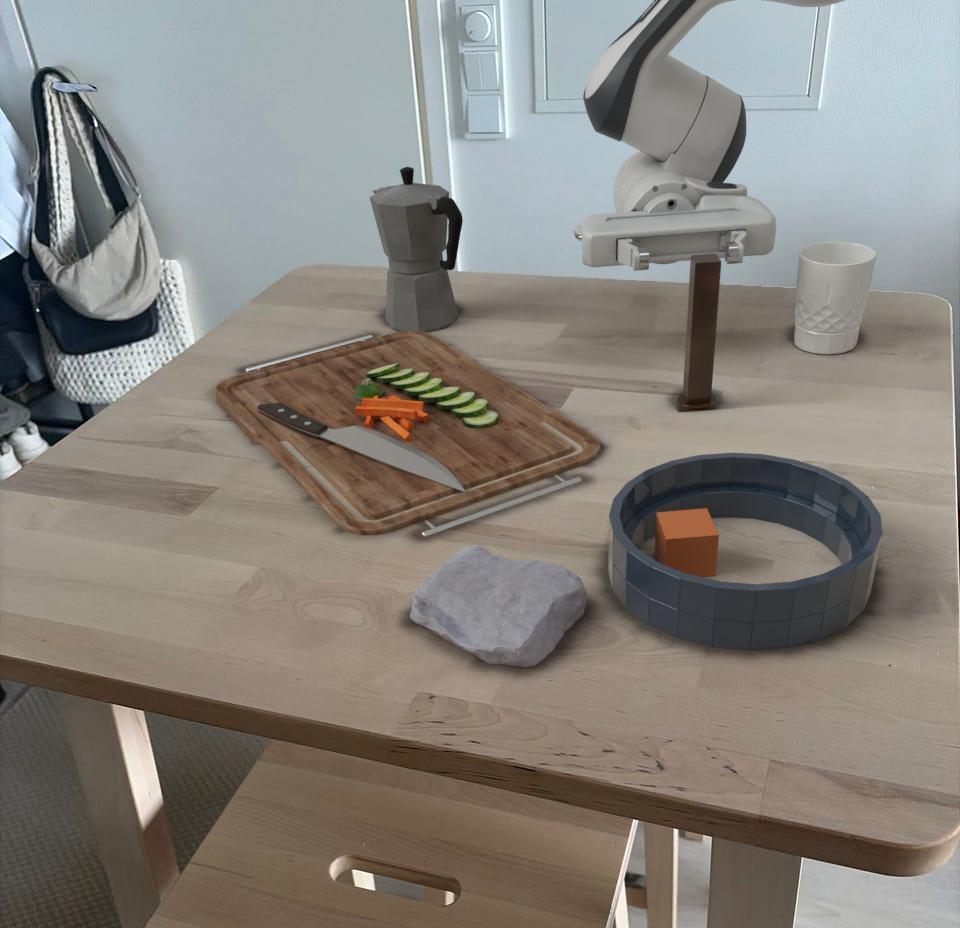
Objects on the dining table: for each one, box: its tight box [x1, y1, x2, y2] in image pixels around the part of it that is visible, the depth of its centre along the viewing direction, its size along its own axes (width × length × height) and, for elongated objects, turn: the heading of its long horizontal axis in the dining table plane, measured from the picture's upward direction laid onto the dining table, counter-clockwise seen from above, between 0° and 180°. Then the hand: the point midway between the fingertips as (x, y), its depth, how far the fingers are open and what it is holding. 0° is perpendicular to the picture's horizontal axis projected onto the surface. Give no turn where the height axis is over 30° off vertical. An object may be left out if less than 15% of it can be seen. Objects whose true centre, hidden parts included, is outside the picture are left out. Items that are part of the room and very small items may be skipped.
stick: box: [675, 253, 722, 413], centre depth 100 cm, size 4×4×15 cm
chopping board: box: [214, 330, 601, 538], centre depth 105 cm, size 45×27×3 cm, turn 30°
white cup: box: [793, 241, 878, 355], centre depth 112 cm, size 8×8×10 cm
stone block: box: [409, 544, 588, 668], centre depth 77 cm, size 12×5×10 cm
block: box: [654, 508, 720, 578], centre depth 80 cm, size 4×4×4 cm
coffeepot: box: [369, 166, 464, 333], centre depth 124 cm, size 15×9×18 cm, turn 43°
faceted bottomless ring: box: [607, 452, 884, 652], centre depth 78 cm, size 20×20×6 cm
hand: (688, 259), depth 103 cm, fingers open, 8 cm apart
